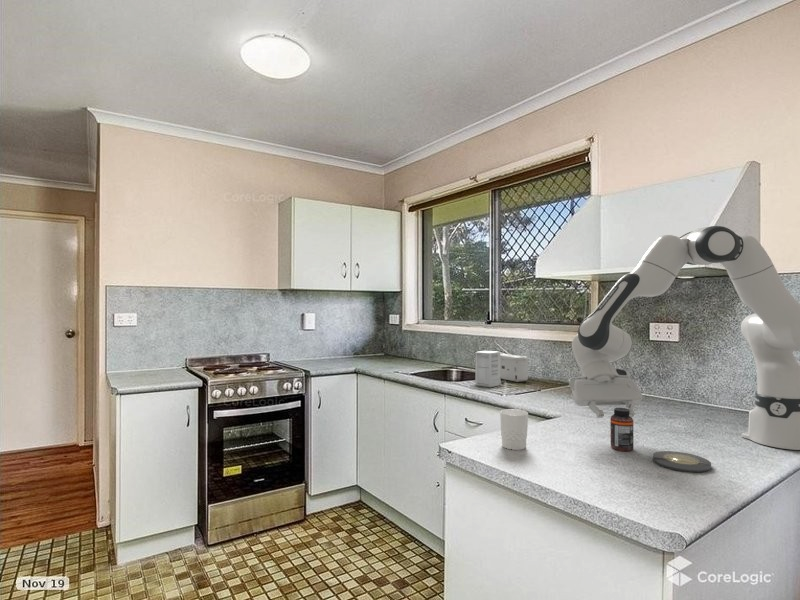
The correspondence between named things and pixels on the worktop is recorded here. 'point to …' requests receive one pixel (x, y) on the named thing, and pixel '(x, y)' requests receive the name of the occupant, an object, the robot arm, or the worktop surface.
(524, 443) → the white cup
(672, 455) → the grey flat disc
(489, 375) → the supplement box
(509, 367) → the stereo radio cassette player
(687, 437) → the worktop surface
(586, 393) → the robot arm
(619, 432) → the supplement bottle
